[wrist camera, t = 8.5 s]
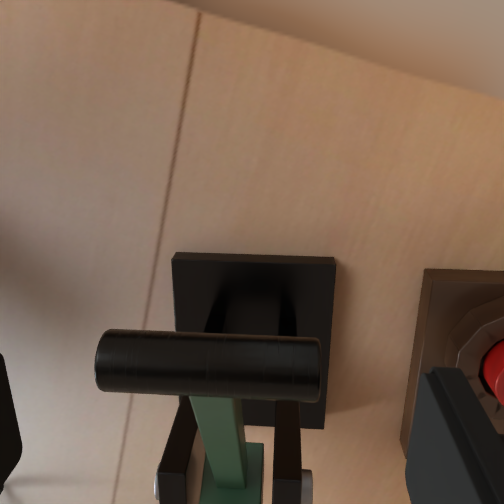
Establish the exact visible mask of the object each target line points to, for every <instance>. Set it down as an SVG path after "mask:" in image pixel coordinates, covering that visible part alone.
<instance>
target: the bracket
mask: <svg viewBox="0 0 504 504" xmlns="http://www.w3.org/2000/svg"><path fill="white" fill-rule="evenodd" d="M171 263H172V281H173V299H174V317H175V332H197V333H221V334H244V335H267V336H291V337H314V338H317V339H319V342H320V345H321V390H320V397H319V400H318V401H317V402H315V403H314V402H294V401H275V400H255V399H241V404H242V413H243V422H244V425H251V426H269V427H275V433H274V460H273V488H272V504H312V501H313V478H312V471H311V470H308V469H302V461H301V433H300V428H306V429H324V422H325V409H326V395H327V382H328V368H329V355H330V342H331V328H332V315H333V301H334V288H335V275H336V263H335V259H334V257H315V256H284V255H252V254H221V253H190V252H176V253H175V255H174V256H173V258H172V259H171ZM205 452H206V450H205V447H204V444H203V440H202V437H201V434H200V431H199V427H198V424H197V421H196V418H195V414H194V411H193V408H192V404H191V401H190V398H189V396H179V407H178V410H177V413H176V416H175V420H174V423H173V426H172V429H171V432H170V435H169V438H168V441H167V444H166V447H165V450H164V453H163V456H162V459H161V462H160V464H159V466H158V469H157V473H156V478H155V498H156V499H157V500H159V504H199V500H200V492H201V484H202V476H203V468H204V460H205Z"/></svg>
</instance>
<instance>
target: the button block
mask: <svg viewBox="0 0 504 504" xmlns="http://www.w3.org/2000/svg"><path fill="white" fill-rule="evenodd" d="M502 340H504V271H483V270H453V269H425V270H424V276H423V283H422V290H421V296H420V303H419V310H418V317H417V324H416V331H415V338H414V345H413V352H412V359H411V365H410V372H409V379H408V386H407V393H406V400H405V407H404V414H403V421H402V428H401V435H400V442H401V446H402V449H403V452H404V455H405V459H407V456H408V449H409V443H410V437H411V431H412V425H413V418H414V412H415V406H416V400H417V394H418V387H419V381H420V376H421V374H422V373H429V370H430V368H431V367H452V368H460V369H461V370H462V371H463V373H464V375H465V377H466V378H467V380H468V382H469V384H470V385H471V387H472V389H473V391H474V392H475V394H476V396H477V398H478V399H479V401H480V403H481V405H482V406H483V408H484V410H485V412H486V413H487V415H488V417H489V419H490V420H491V422H492V424H493V426H494V428H495V429H496V431H497V433H498V434H504V406H503V405H502V404H501V403H500V402H499V400H498V399H497V397H496V396H495V394H494V393H493V391H492V389H491V388H490V386H489V385H488V383H487V382H486V380H485V378H484V375H483V363H484V359H485V357H486V355H487V354H488V352H489V351H490V350H491V349H492V348H493V347H494V346H495V345H496V344H497V343H499V342H501V341H502Z"/></svg>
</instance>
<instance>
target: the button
mask: <svg viewBox="0 0 504 504" xmlns="http://www.w3.org/2000/svg"><path fill="white" fill-rule="evenodd" d="M483 375H484V378H485V380H486V382H487V383H488V385H489V386H490V388H491V389H492V391H493V393H494V394H495V396H496V397H497V399H498V400H499V402H500V403H501V404H502V405H503V406H504V340H502V341H501V342H499V343H497V344H496V345H495V346H494V347H493V348H492V349H491V350H490V351H489V352H488V354H487V355H486V357H485V359H484V363H483Z"/></svg>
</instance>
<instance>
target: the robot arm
mask: <svg viewBox="0 0 504 504" xmlns="http://www.w3.org/2000/svg"><path fill="white" fill-rule="evenodd" d="M21 454H22V441H21V436H20V431H19V427H18V422H17V417H16V413H15V408H14V403H13V399H12V394H11V389H10V385H9V380H8V376H7V371H6V366H5V362H4V358H3V355H2V354H1V353H0V488H1V487H2V485H3V484H4V482H5V481H6V480H7V478H8V477H9V475H10V474H11V472H12V471H13V469H14V468H15V466H16V465H17V463H18V462H19V460H20V457H21ZM405 478H406V485H407V489H408V493H409V496H410V500H411V504H504V434H498V433H497V431H496V429H495V428H494V426H493V424H492V422H491V420H490V419H489V417H488V415H487V413H486V412H485V410H484V408H483V406H482V405H481V403H480V401H479V399H478V398H477V396H476V394H475V392H474V391H473V389H472V387H471V385H470V384H469V382H468V380H467V378H466V377H465V375H464V373H463V371H462V370H461V369H460V368H452V367H431V368H430V370H429V373H422V374H421V376H420V381H419V387H418V394H417V400H416V406H415V412H414V418H413V425H412V431H411V437H410V443H409V449H408V456H407V462H406V469H405Z"/></svg>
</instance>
